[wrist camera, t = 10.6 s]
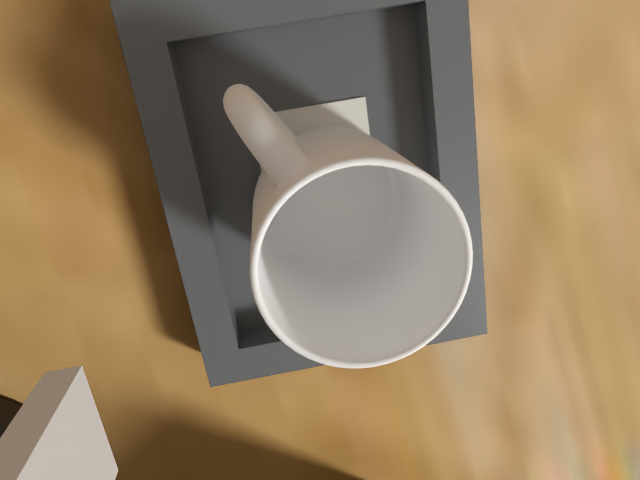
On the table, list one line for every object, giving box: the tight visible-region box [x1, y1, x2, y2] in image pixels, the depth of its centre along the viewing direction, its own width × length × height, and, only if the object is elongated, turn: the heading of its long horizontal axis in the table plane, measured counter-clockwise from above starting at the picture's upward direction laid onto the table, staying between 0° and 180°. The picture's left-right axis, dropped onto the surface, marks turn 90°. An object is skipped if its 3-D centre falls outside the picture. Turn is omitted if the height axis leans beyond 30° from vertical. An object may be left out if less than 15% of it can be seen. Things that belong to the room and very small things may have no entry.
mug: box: [223, 84, 473, 368], centre depth 24 cm, size 12×8×10 cm
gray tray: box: [110, 0, 487, 387], centre depth 28 cm, size 16×20×3 cm
